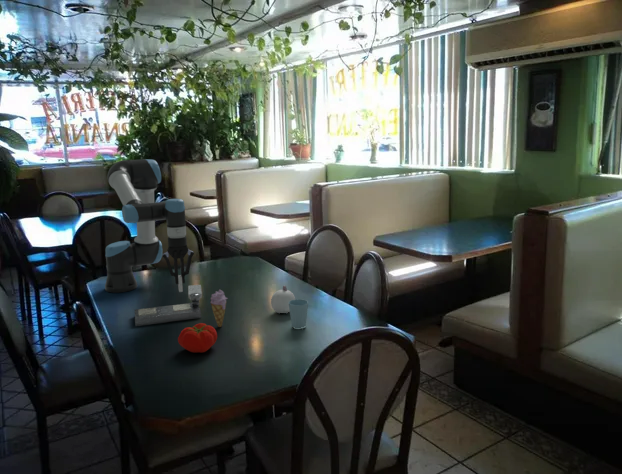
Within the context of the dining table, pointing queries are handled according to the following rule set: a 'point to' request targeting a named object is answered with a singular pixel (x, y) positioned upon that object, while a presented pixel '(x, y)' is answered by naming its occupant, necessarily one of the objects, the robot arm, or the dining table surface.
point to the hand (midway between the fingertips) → (180, 290)
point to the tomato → (197, 338)
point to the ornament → (282, 300)
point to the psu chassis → (167, 313)
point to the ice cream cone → (218, 306)
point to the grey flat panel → (194, 292)
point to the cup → (298, 312)
